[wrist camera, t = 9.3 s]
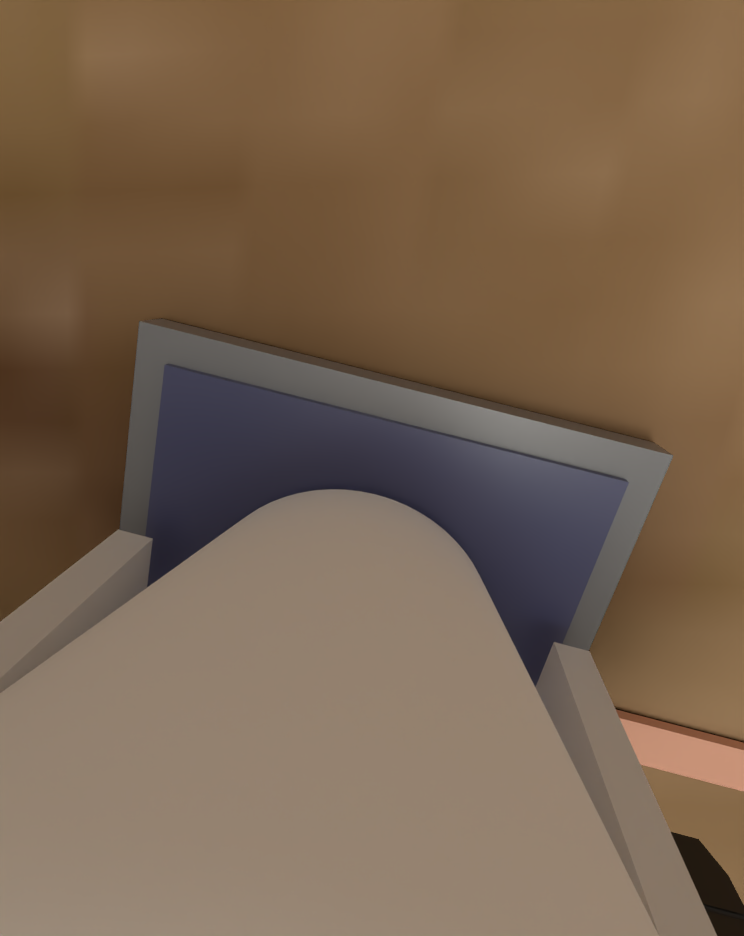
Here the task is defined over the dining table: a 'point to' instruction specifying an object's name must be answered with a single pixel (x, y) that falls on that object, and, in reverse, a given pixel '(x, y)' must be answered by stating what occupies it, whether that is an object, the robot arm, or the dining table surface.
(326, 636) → the cup
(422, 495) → the ink pad
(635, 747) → the mark frame
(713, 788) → the dining table surface
